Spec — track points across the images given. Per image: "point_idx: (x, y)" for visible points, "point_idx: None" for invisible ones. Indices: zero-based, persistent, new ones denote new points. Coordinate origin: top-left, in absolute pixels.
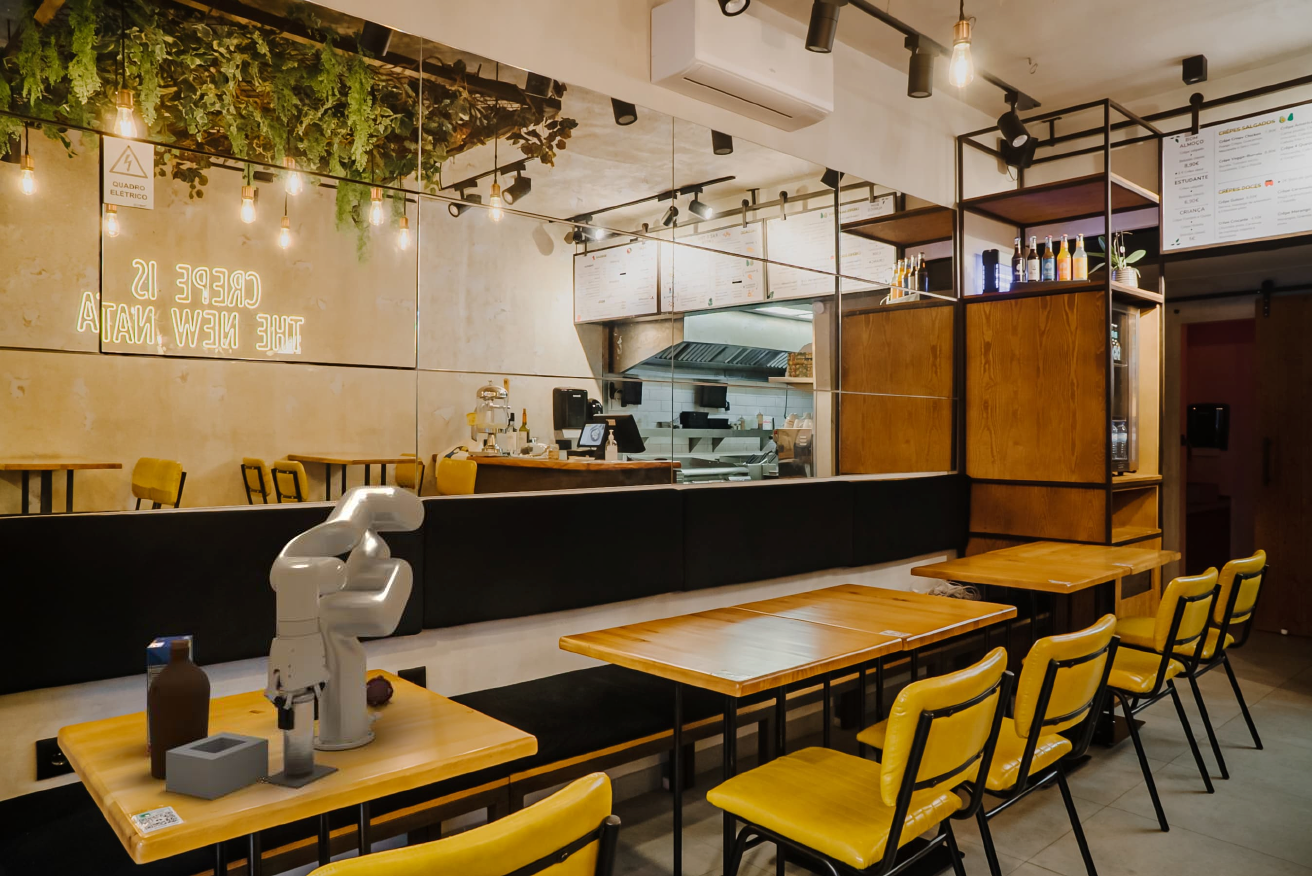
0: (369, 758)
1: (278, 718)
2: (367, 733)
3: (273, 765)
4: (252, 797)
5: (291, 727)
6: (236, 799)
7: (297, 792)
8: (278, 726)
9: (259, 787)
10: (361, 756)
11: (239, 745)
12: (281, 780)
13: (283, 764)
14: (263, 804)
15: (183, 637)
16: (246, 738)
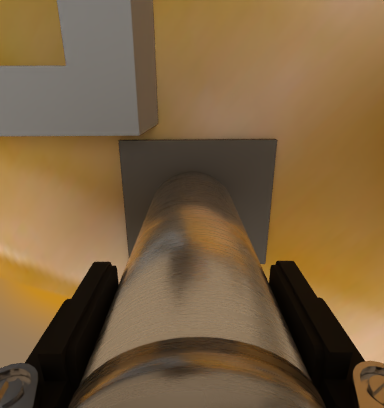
0: (359, 269)
1: (51, 326)
2: None
3: (237, 50)
4: (41, 208)
5: None
6: (10, 181)
7: None
8: (94, 266)
9: (91, 169)
10: (369, 242)
11: (8, 79)
12: (141, 197)
13: (154, 197)
14: (31, 263)
15: None
16: (95, 6)
